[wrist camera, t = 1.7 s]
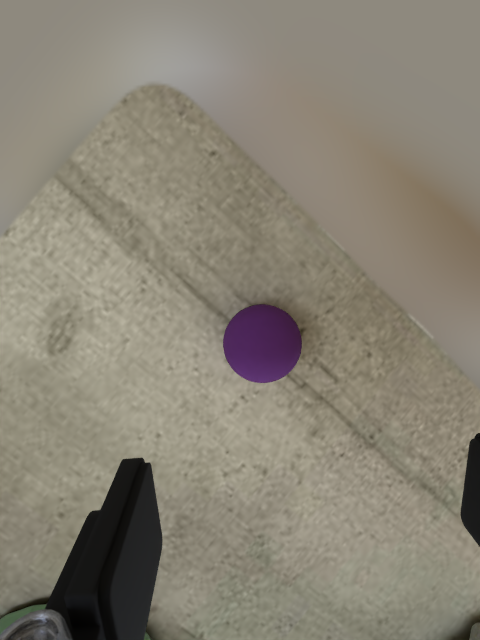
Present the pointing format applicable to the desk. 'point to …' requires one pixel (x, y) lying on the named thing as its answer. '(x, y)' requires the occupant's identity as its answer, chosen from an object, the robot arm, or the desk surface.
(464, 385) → the desk surface
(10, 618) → the green bowl
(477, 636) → the ceramic sculpture
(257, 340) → the ball
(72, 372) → the desk surface
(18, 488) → the desk surface
